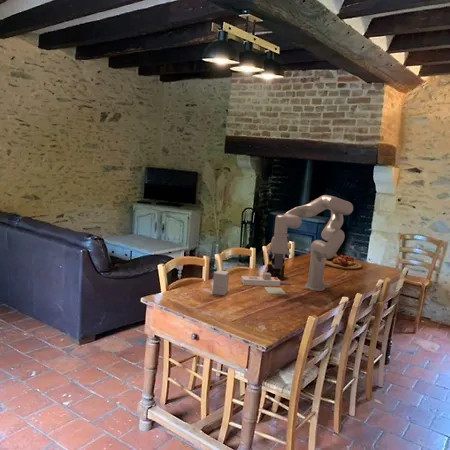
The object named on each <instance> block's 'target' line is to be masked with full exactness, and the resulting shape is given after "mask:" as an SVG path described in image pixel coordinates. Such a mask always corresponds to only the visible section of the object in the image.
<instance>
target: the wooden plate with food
mask: <svg viewBox="0 0 450 450" xmlns="http://www.w3.org/2000/svg"><path fill="white" fill-rule="evenodd" d="M354 260H355V259H354V256H351V255H349V256H346V255H343V254H339V256H338V253H336V254H335V255H334V256H333V257H332V258H330V259H326V258H325V266H328V267H331V268H335V269H341V270H349V271H355V270H357V271H358V270H361V269H362V267H363V266H362V264H361V263H359V262H357V261H354Z"/></svg>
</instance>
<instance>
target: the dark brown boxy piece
mask: <svg viewBox="0 0 450 450" xmlns="http://www.w3.org/2000/svg"><path fill="white" fill-rule="evenodd" d="M285 267H286V262H284V264H283V265H282V269H275V268H273V267H272V263H271V261H269V262H268V263H267V270H266V273H270V274H271V277H277V278H278V279H279V280H280V281H281V280H282V279H283V278H284V277H285V276H284V275H285Z"/></svg>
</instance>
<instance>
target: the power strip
mask: <svg viewBox="0 0 450 450" xmlns="http://www.w3.org/2000/svg"><path fill="white" fill-rule="evenodd" d="M240 281H242V282H241V283H243V284H242V285H243V286H257V287H258V286H259V287H260V286H261V287H262V286H263V287H281V286H282V285H283V286H291V283H290V282H281V279H280V280H279V279H278V278H277V277H271V280H264V279H263V276H253V275H252V276H251V275H249V276H248V275H241V278H240Z"/></svg>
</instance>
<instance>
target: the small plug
mask: <svg viewBox="0 0 450 450" xmlns="http://www.w3.org/2000/svg"><path fill="white" fill-rule="evenodd" d="M262 277H263V279H264V280H271V274H270V273H267V272H263V275H262Z"/></svg>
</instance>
